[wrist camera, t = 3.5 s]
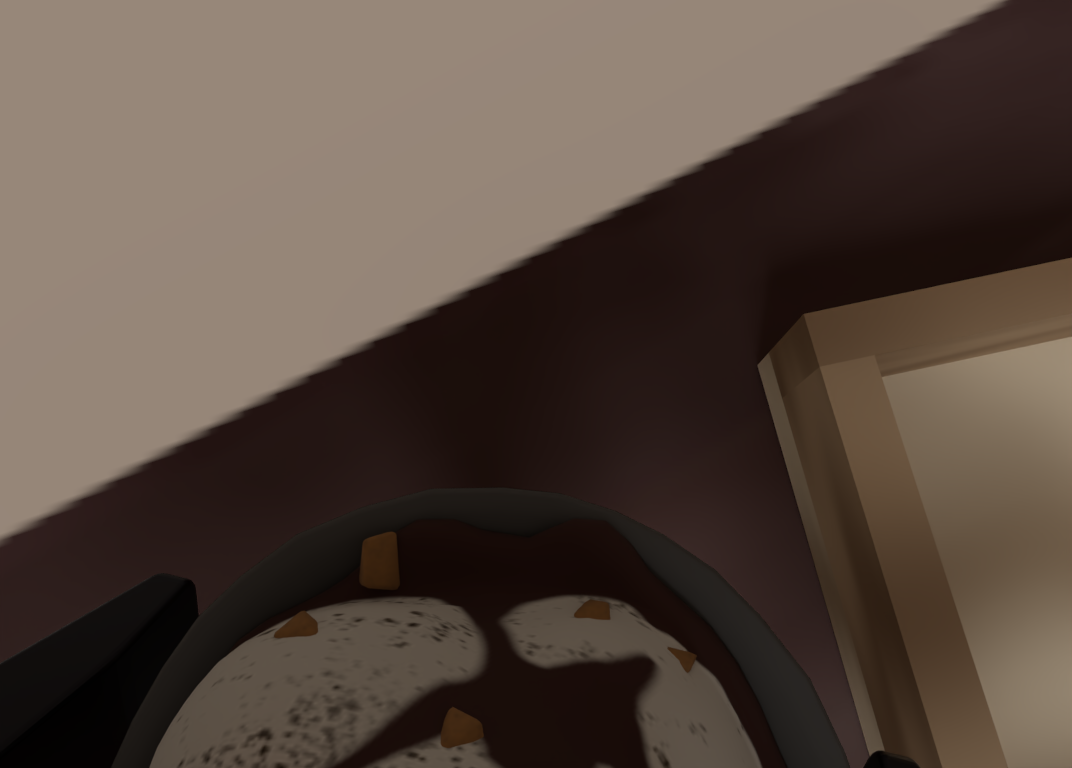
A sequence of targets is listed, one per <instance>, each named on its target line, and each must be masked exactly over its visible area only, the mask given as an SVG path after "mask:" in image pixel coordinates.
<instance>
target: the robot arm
mask: <svg viewBox="0 0 1072 768" xmlns="http://www.w3.org/2000/svg"><path fill="white" fill-rule="evenodd" d="M198 617H199V615H198V605H197V595H196V588H195V585H194V583H193V582H192V581H191V580H189V579H186V578H182V577H178V576H174V575H170V574H165V573H161V574H157V575H154V576H152V577H150V578H148V579H146V580H145V581H143V582H141V583H139V584H138V585H136V586H134V587H132V588H131V589H129V590H127V591H125V592H124V593H122V594H120V595H118V596H117V597H115V598H113V599H111V600H110V601H108V602H106V603H104V604H103V605H101V606H99V607H97V608H96V609H94V610H92V611H90V612H89V613H87V614H85V615H83V616H82V617H80V618H78V619H76V620H75V621H73V622H71V623H69V624H68V625H66V626H64V627H62V628H61V629H59V630H57V631H55V632H54V633H52V634H50V635H49V636H47V637H45V638H43V639H42V640H40V641H38V642H36V643H35V644H33V645H31V646H29V647H28V648H26V649H24V650H22V651H21V652H19V653H17V654H15V655H14V656H12V657H10V658H8V659H7V660H5V661H3V662H1V663H0V768H111V766H112V764H113V762H114V760H115V757H116V755H117V753H118V751H119V749H120V747H121V744H122V742H123V740H124V738H125V736H126V733H127V731H128V729H129V727H130V725H131V722H132V720H133V718H134V717H135V715H136V713H137V711H138V709H139V708H140V706H141V704H142V702H143V701H144V699H145V697H146V695H147V694H148V692H149V690H150V688H151V687H152V685H153V683H154V681H155V680H156V678H157V676H158V674H159V673H160V671H161V669H162V667H163V666H164V664H165V663H166V662H167V660H168V659H169V657H170V656H171V654H172V653H173V652H174V650H175V649H176V647H177V646H178V645H179V643H180V642H181V640H182V639H183V638H184V636H185V635H186V633H187V632H188V630H189V629H190V628H191V626H192V625H193V623H194V622H195V621H196V619H197V618H198ZM863 768H921V767H920V766H919V765H918V764H917V763H916V762H915V761H914V760H913V759H911V758H909V757H906V756H902V755H898V754H894V753H890V752H886V751H882V750H878V751H875V752H874V753H872V754H871V756H870V757H869V759H868V760H867V762H866V764H865V765H864V767H863Z"/></svg>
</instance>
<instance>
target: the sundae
mask: <svg viewBox="0 0 1072 768" xmlns="http://www.w3.org/2000/svg"><path fill="white" fill-rule="evenodd" d="M111 768H850V766H849V763H848V760H847V757H846V754H845V752H844V749H843V747H842V745H841V743H840V741H839V739H838V737H837V735H836V733H835V730H834V728H833V726H832V724H831V722H830V720H829V718H828V716H827V714H826V711H825V709H824V707H823V705H822V703H821V701H820V699H819V697H818V695H817V692H816V690H815V688H814V686H813V684H812V682H811V680H810V678H809V677H808V676H807V674H806V673H805V672H804V670H803V669H802V668H801V667H800V665H799V664H798V663H797V662H796V660H795V659H794V658H793V657H792V655H791V654H790V653H789V652H788V650H787V649H786V648H785V646H784V645H783V644H782V643H781V641H780V640H779V639H778V638H777V636H776V635H775V634H774V633H773V631H772V630H771V629H770V627H769V626H768V625H767V624H766V622H765V621H764V620H763V619H762V617H761V616H760V615H759V614H758V613H757V612H756V611H755V610H754V609H753V608H752V607H751V606H750V605H749V604H748V603H747V602H746V601H745V600H744V599H743V598H742V597H741V596H740V595H739V594H738V593H737V592H736V591H735V590H734V589H733V588H732V587H731V586H730V585H729V584H728V583H727V581H726V580H725V579H724V578H723V577H722V576H721V575H720V574H719V573H718V572H717V571H716V570H715V569H713V568H712V567H710V566H709V565H707V564H706V563H704V562H703V561H701V560H700V559H699V558H697V557H696V556H694V555H693V554H691V553H690V552H688V551H687V550H685V549H684V548H682V547H681V546H680V545H678V544H677V543H675V542H674V541H672V540H671V539H669V538H668V537H666V536H665V535H663V534H661V533H659V532H657V531H655V530H653V529H651V528H649V527H647V526H645V525H643V524H641V523H639V522H637V521H635V520H633V519H631V518H629V517H626V516H624V515H622V514H620V513H618V512H616V511H614V510H611V509H608V508H604V507H601V506H598V505H595V504H592V503H589V502H585V501H582V500H579V499H576V498H573V497H570V496H567V495H563V494H560V493H551V492H542V491H532V490H522V489H512V488H445V489H429V490H425V491H421V492H417V493H414V494H410V495H406V496H402V497H399V498H395V499H391V500H387V501H384V502H380V503H376V504H372V505H369V506H365V507H362V508H359V509H357V510H354V511H352V512H350V513H347V514H345V515H342V516H340V517H337V518H335V519H333V520H330V521H328V522H325V523H323V524H321V525H318V526H316V527H313V528H311V529H309V530H306V531H304V532H301V533H299V534H297V535H295V536H294V537H293V538H291V539H290V540H289V541H287V542H286V543H285V544H283V545H282V546H281V547H279V548H278V549H277V550H275V551H274V552H273V553H271V554H270V555H269V556H267V557H266V558H265V559H263V560H262V561H261V562H259V563H258V564H256V565H255V566H254V567H252V568H251V569H250V570H248V571H247V572H246V573H244V574H243V575H242V576H240V577H239V578H238V579H237V580H236V581H235V582H234V583H233V584H232V585H231V586H230V587H229V588H228V589H227V590H226V591H225V592H224V593H223V594H222V595H221V596H219V597H218V598H217V599H216V600H215V601H214V602H213V603H212V604H211V605H210V606H209V607H208V608H207V609H206V610H205V611H204V612H203V613H202V614H201V615H200V616H199V617H198V618H197V619H196V621H195V622H194V623H193V625H192V626H191V628H190V629H189V630H188V632H187V633H186V635H185V636H184V638H183V639H182V640H181V642H180V643H179V645H178V646H177V647H176V649H175V650H174V652H173V653H172V654H171V656H170V657H169V659H168V660H167V662H166V663H165V664H164V666H163V667H162V669H161V671H160V673H159V674H158V676H157V678H156V680H155V681H154V683H153V685H152V687H151V688H150V690H149V692H148V694H147V695H146V697H145V699H144V701H143V702H142V704H141V706H140V708H139V709H138V711H137V713H136V715H135V717H134V718H133V720H132V722H131V725H130V727H129V729H128V731H127V733H126V736H125V738H124V740H123V742H122V744H121V747H120V749H119V751H118V753H117V755H116V757H115V760H114V762H113V764H112V766H111Z"/></svg>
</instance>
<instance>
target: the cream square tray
mask: <svg viewBox="0 0 1072 768" xmlns="http://www.w3.org/2000/svg"><path fill="white" fill-rule="evenodd" d="M757 366H758V369H759V373H760V376H761V380H762V383H763V387H764V390H765V394H766V397H767V401H768V404H769V407H770V411H771V414H772V418H773V421H774V425H775V428H776V432H777V435H778V439H779V442H780V446H781V449H782V453H783V456H784V460H785V463H786V467H787V470H788V474H789V477H790V481H791V484H792V488H793V491H794V495H795V498H796V502H797V505H798V508H799V512H800V515H801V519H802V522H803V526H804V529H805V533H806V536H807V540H808V543H809V547H810V550H811V554H812V557H813V561H814V564H815V568H816V571H817V575H818V578H819V582H820V585H821V589H822V592H823V596H824V599H825V603H826V606H827V609H828V613H829V616H830V620H831V623H832V627H833V630H834V634H835V637H836V641H837V644H838V648H839V651H840V655H841V658H842V662H843V665H844V669H845V672H846V676H847V679H848V683H849V686H850V690H851V693H852V697H853V700H854V703H855V707H856V710H857V714H858V717H859V721H860V724H861V728H862V731H863V735H864V738H865V742H866V745H867V749H868V752H869V756H871V754H872V753H874V752H875V751H878V750H882V751H886V752H890V753H894V754H898V755H902V756H906V757H909V758H911V759H913V760H914V761H915V762H916V763H917V764H918V765H919V766H920V767H921V768H1072V258H1067V259H1063V260H1058V261H1053V262H1048V263H1044V264H1039V265H1034V266H1029V267H1025V268H1020V269H1015V270H1010V271H1006V272H1001V273H996V274H991V275H987V276H982V277H977V278H972V279H968V280H963V281H958V282H953V283H949V284H944V285H939V286H934V287H930V288H925V289H920V290H915V291H911V292H906V293H901V294H896V295H892V296H887V297H882V298H877V299H873V300H868V301H863V302H858V303H854V304H849V305H844V306H839V307H835V308H830V309H825V310H820V311H816V312H811V313H806V314H803V315H802V316H801V317H800V318H799V320H798V321H797V322H796V323H795V324H794V325H793V326H792V327H791V328H790V330H789V331H788V332H787V333H786V334H785V335H784V336H783V337H782V338H781V340H780V341H779V342H778V343H777V344H776V345H775V346H774V347H773V348H772V350H771V351H770V352H769V353H768V354H767V355H766V356H765V357H764V358H763V360H762V361H761V362H760V363H759V364H758V365H757Z"/></svg>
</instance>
